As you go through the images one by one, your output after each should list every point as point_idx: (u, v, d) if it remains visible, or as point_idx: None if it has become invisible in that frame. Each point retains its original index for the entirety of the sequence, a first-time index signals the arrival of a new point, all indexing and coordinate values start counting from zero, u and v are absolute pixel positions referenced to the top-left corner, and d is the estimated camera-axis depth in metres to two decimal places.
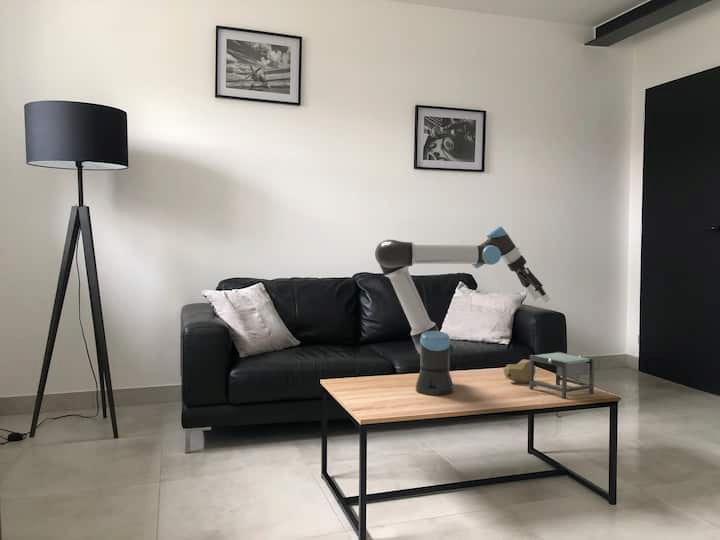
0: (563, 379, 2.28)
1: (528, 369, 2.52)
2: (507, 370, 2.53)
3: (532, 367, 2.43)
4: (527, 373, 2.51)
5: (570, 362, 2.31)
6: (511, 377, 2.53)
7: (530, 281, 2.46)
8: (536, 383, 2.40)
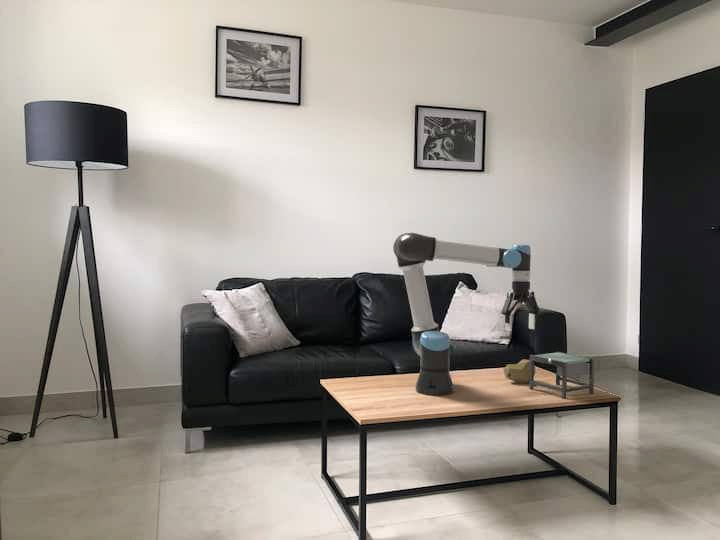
0: (563, 379, 2.28)
1: (528, 369, 2.52)
2: (507, 370, 2.53)
3: (532, 367, 2.43)
4: (527, 373, 2.51)
5: (570, 362, 2.31)
6: (511, 377, 2.53)
7: (509, 305, 2.53)
8: (536, 383, 2.40)
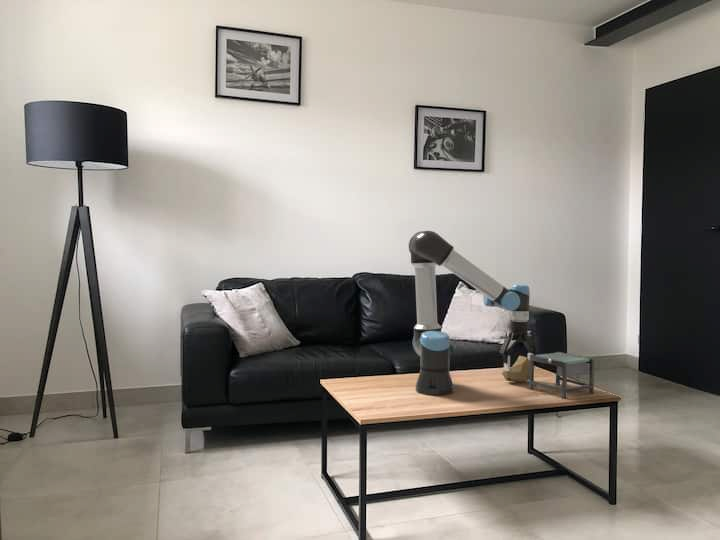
0: (563, 379, 2.28)
1: (526, 369, 2.51)
2: (506, 374, 2.52)
3: (532, 367, 2.43)
4: (526, 373, 2.50)
5: (570, 362, 2.31)
6: (511, 379, 2.53)
7: None
8: (536, 383, 2.40)
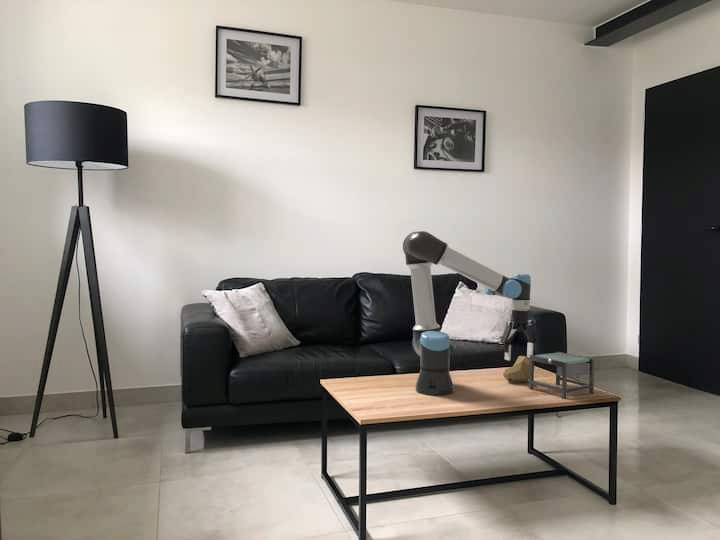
0: (563, 379, 2.28)
1: (525, 367, 2.51)
2: (506, 375, 2.53)
3: (532, 367, 2.43)
4: (526, 372, 2.51)
5: (570, 362, 2.31)
6: (513, 380, 2.54)
7: None
8: (536, 383, 2.40)
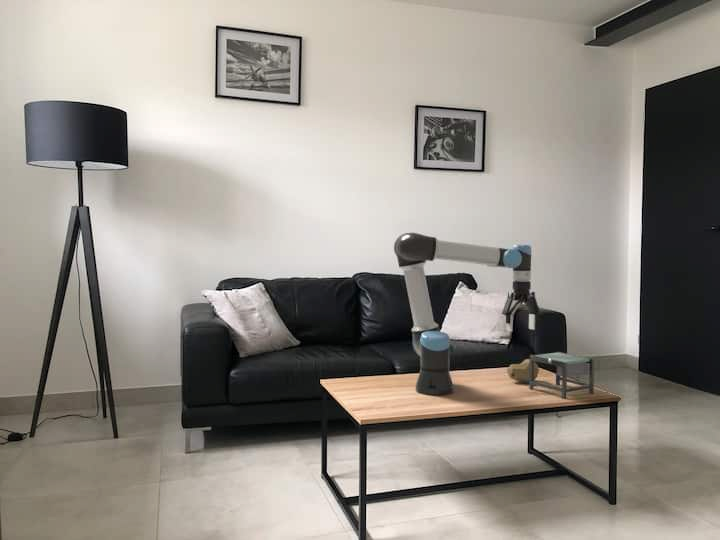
0: (563, 379, 2.28)
1: None
2: (511, 370, 2.53)
3: (532, 367, 2.43)
4: None
5: (570, 362, 2.31)
6: (515, 377, 2.54)
7: None
8: (536, 383, 2.40)
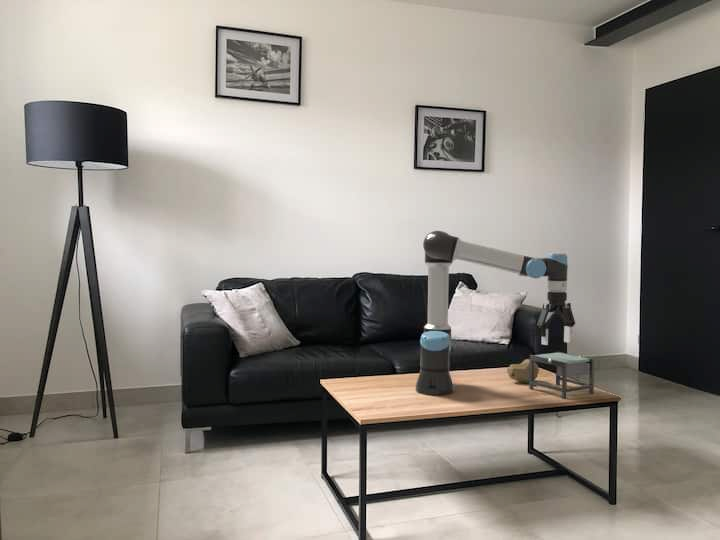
0: (563, 379, 2.28)
1: None
2: (511, 370, 2.53)
3: (532, 367, 2.43)
4: None
5: (570, 362, 2.31)
6: (515, 377, 2.54)
7: None
8: (536, 383, 2.40)
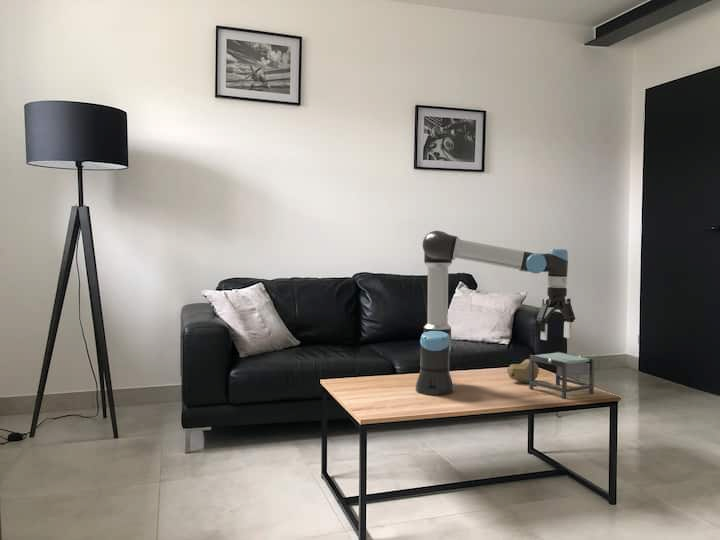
0: (563, 379, 2.28)
1: None
2: (511, 370, 2.53)
3: (532, 367, 2.43)
4: None
5: (570, 362, 2.31)
6: (515, 377, 2.54)
7: None
8: (536, 383, 2.40)
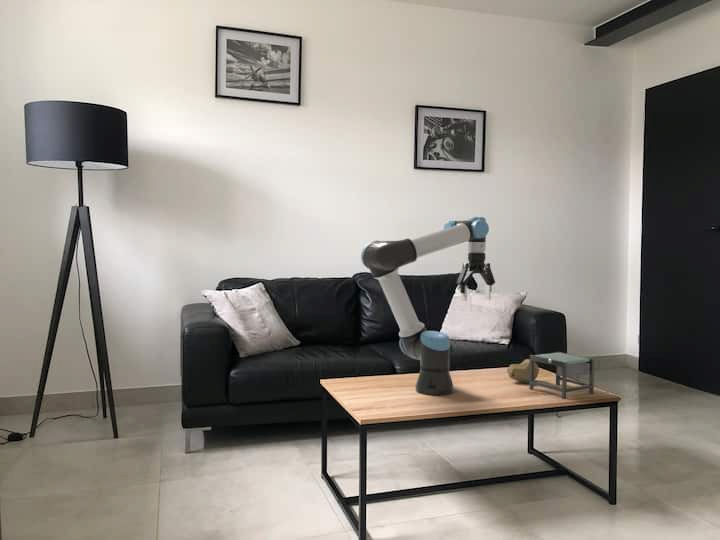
0: (563, 379, 2.28)
1: None
2: (511, 370, 2.53)
3: (532, 367, 2.43)
4: None
5: (570, 362, 2.31)
6: (515, 377, 2.54)
7: (465, 276, 2.59)
8: (536, 383, 2.40)
